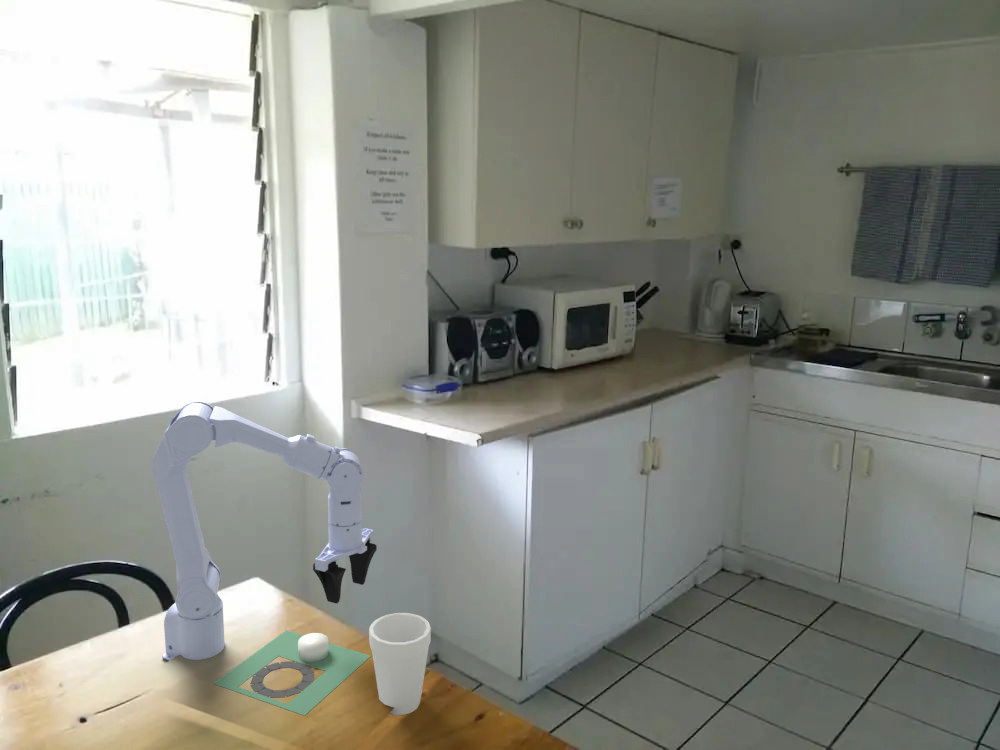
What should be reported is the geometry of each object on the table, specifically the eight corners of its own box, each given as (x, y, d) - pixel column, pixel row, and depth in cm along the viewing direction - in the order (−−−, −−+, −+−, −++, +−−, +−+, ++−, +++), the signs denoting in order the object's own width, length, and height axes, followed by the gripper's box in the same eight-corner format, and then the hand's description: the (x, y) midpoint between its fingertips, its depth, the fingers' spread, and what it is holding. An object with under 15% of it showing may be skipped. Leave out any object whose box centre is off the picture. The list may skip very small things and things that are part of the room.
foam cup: (419, 725, 121) (419, 648, 118) (361, 716, 123) (360, 640, 120) (436, 689, 130) (437, 616, 127) (382, 681, 132) (382, 609, 129)
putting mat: (213, 691, 128) (212, 683, 128) (286, 637, 144) (286, 630, 144) (304, 724, 121) (304, 715, 120) (371, 663, 137) (371, 655, 137)
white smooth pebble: (292, 657, 135) (291, 644, 135) (310, 643, 140) (310, 630, 139) (316, 665, 133) (316, 651, 133) (334, 650, 138) (334, 637, 137)
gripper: (338, 540, 131) (340, 615, 134) (387, 510, 143) (387, 580, 146) (304, 531, 133) (306, 606, 136) (354, 503, 146) (355, 571, 149)
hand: (346, 592), depth 142 cm, fingers open, 7 cm apart
